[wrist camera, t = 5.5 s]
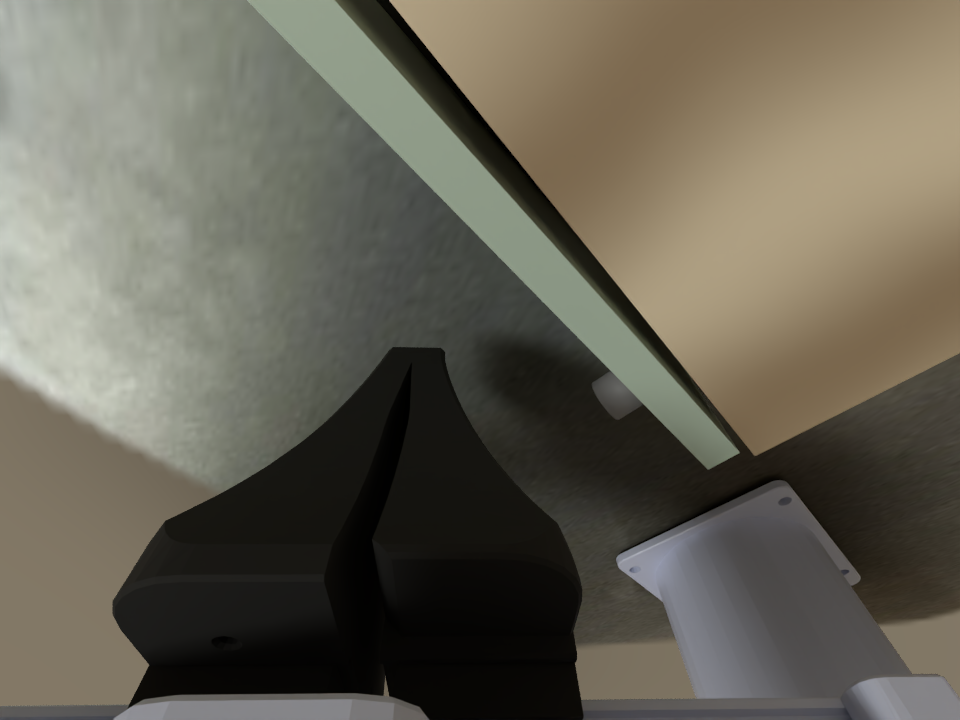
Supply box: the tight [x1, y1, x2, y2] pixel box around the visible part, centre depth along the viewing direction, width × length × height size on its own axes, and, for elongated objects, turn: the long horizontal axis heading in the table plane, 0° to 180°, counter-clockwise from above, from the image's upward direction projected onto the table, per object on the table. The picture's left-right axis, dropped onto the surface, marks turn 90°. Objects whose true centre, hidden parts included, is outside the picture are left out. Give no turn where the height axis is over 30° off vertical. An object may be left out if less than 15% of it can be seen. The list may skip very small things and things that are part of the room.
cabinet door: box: [247, 0, 740, 470], centre depth 10 cm, size 14×2×5 cm, turn 43°
